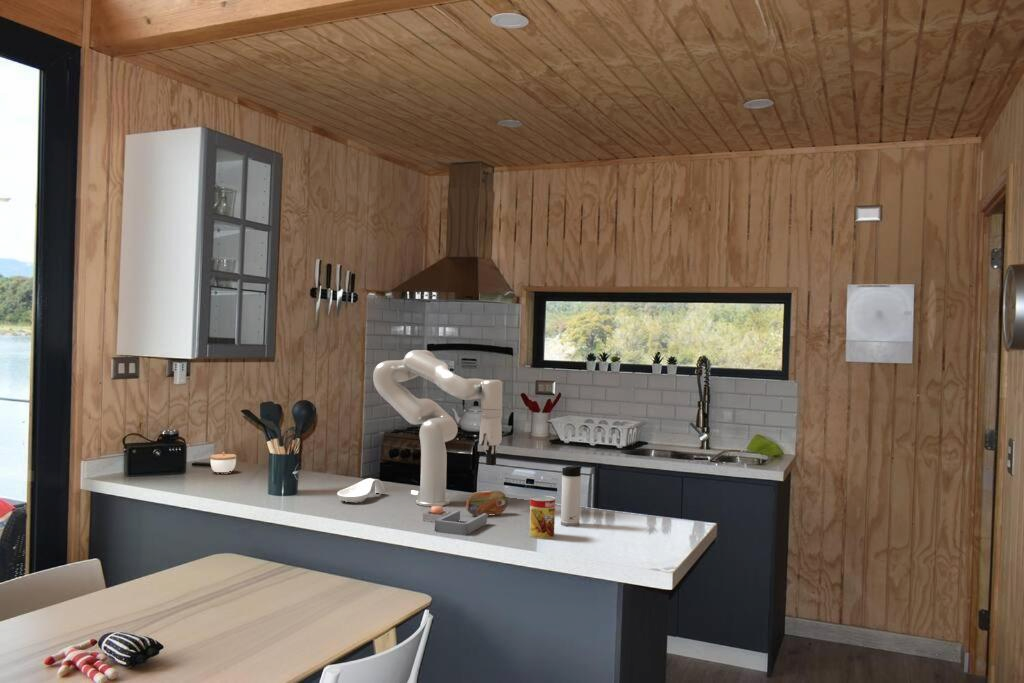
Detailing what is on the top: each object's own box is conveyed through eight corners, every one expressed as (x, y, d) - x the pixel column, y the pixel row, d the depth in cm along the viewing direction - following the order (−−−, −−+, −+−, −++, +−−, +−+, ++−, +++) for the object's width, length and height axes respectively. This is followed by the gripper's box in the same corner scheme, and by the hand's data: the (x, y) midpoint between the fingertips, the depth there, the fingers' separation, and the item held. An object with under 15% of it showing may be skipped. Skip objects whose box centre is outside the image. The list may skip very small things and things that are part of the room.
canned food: (552, 539, 251) (553, 501, 251) (527, 537, 253) (528, 499, 253) (555, 533, 259) (556, 496, 259) (531, 532, 260) (532, 494, 260)
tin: (468, 517, 279) (469, 493, 279) (464, 515, 282) (465, 491, 282) (507, 514, 286) (507, 490, 286) (503, 512, 289) (503, 489, 289)
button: (428, 514, 273) (429, 507, 273) (434, 512, 276) (434, 505, 276) (439, 516, 271) (439, 508, 271) (444, 513, 275) (444, 506, 275)
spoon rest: (357, 506, 292) (357, 487, 292) (330, 503, 297) (331, 483, 297) (392, 496, 314) (393, 477, 314) (367, 493, 319) (367, 474, 319)
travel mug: (574, 527, 268) (576, 467, 268) (557, 525, 271) (559, 465, 271) (583, 524, 273) (585, 465, 273) (566, 521, 277) (567, 463, 277)
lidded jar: (230, 470, 360) (231, 449, 360) (239, 474, 351) (240, 452, 351) (206, 472, 353) (206, 451, 353) (215, 476, 344) (215, 454, 344)
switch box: (422, 520, 272) (422, 513, 272) (431, 516, 278) (432, 509, 278) (441, 523, 269) (441, 515, 269) (450, 518, 276) (450, 511, 276)
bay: (434, 531, 257) (434, 520, 257) (456, 520, 274) (456, 510, 274) (466, 535, 254) (466, 524, 254) (486, 524, 270) (487, 513, 270)
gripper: (491, 412, 300) (490, 461, 300) (473, 415, 287) (472, 466, 287) (509, 412, 297) (508, 462, 297) (492, 415, 284) (491, 468, 284)
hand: (491, 464), depth 292 cm, fingers closed
